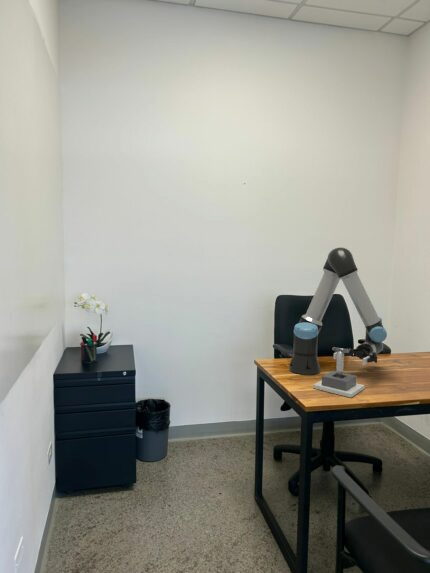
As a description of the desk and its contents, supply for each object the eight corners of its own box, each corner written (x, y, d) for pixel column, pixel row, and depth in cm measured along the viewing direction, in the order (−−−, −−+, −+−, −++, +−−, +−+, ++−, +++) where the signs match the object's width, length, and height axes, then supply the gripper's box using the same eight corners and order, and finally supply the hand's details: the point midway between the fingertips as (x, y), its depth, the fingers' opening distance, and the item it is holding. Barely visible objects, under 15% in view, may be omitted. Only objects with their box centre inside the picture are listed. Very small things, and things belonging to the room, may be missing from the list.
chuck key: (329, 383, 177) (330, 347, 176) (332, 382, 179) (333, 346, 178) (346, 387, 172) (347, 350, 171) (348, 386, 175) (350, 349, 173)
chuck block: (313, 388, 176) (313, 375, 175) (327, 380, 187) (328, 368, 187) (351, 397, 165) (351, 384, 164) (364, 388, 176) (365, 376, 176)
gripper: (391, 363, 191) (376, 372, 175) (341, 353, 207) (322, 361, 191) (392, 347, 190) (376, 356, 174) (341, 339, 206) (323, 346, 190)
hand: (348, 359), depth 182 cm, fingers open, 13 cm apart
